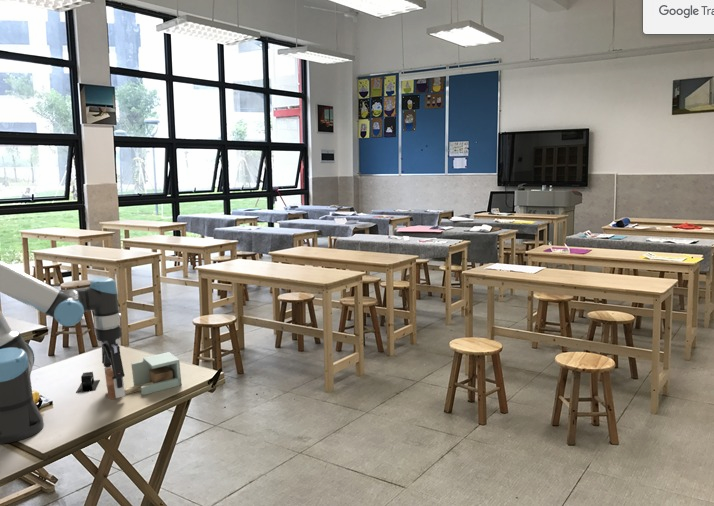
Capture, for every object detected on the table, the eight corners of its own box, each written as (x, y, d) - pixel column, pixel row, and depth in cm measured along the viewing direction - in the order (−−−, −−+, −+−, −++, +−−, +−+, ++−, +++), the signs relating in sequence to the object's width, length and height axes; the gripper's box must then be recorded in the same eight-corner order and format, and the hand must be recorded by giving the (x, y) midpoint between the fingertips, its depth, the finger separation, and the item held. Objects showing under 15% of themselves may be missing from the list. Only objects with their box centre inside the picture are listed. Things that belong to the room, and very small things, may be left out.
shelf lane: (142, 395, 196) (139, 368, 194) (133, 385, 204) (131, 360, 203) (181, 384, 203) (179, 359, 202) (171, 376, 211) (169, 351, 210)
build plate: (96, 393, 200) (95, 379, 200) (71, 396, 199) (70, 382, 198) (103, 379, 213) (101, 366, 212) (79, 382, 211) (78, 368, 210)
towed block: (110, 400, 192) (107, 374, 191) (106, 395, 197) (103, 368, 196) (173, 384, 204) (171, 359, 202) (168, 379, 209) (165, 354, 207)
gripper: (130, 332, 185) (137, 399, 188) (111, 316, 204) (118, 377, 207) (104, 337, 180) (112, 405, 184) (87, 321, 200) (95, 383, 203)
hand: (115, 391), depth 196 cm, fingers open, 11 cm apart
